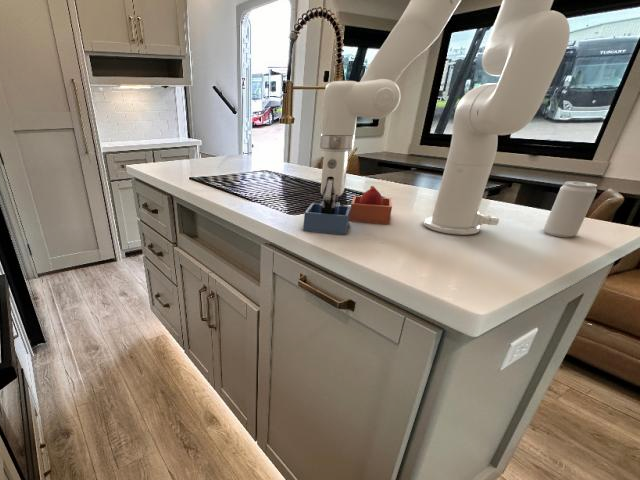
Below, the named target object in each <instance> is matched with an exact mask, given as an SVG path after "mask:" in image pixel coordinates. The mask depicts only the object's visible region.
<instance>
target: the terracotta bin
mask: <svg viewBox="0 0 640 480" xmlns="http://www.w3.org/2000/svg"><path fill="white" fill-rule="evenodd" d="M361 197H362V195H354V196H353V198H352V200H351V203H350V206H351V210H350V217H349V222H358V223H359V222H360V223H370V224H379V225H380V224H381V225H390V219H391V213H392V208H393V201H392V198H391V197H382V206H380V205H367V204H360V199H361Z"/></svg>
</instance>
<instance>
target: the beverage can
mask: <svg viewBox="0 0 640 480" xmlns="http://www.w3.org/2000/svg"><path fill="white" fill-rule="evenodd" d="M597 187H598V184H596V183H593V182H587V181H586V182H585V181H573V180H571V181H569V180H568V181H565V182H564V184H563V185H562V186H560V188H559V191H558V193H557V195H556V197H555V201H554V203H553V205H552V207H551V209H550V212H549V215H548V217H547V219H546V222H545V223H544V227H543V230H544V231H545V234H548V235H549V236H553V237H558V238H572V237H574V236H576V235H578V233H579V230H580V229H581V227H582V225H583V223H584V220H585V218H586V215H587V214H588V211H589V210H590V207H591V206H592V203H593V201H594V199H595V197H596V194H597V192H598V190H597Z"/></svg>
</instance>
